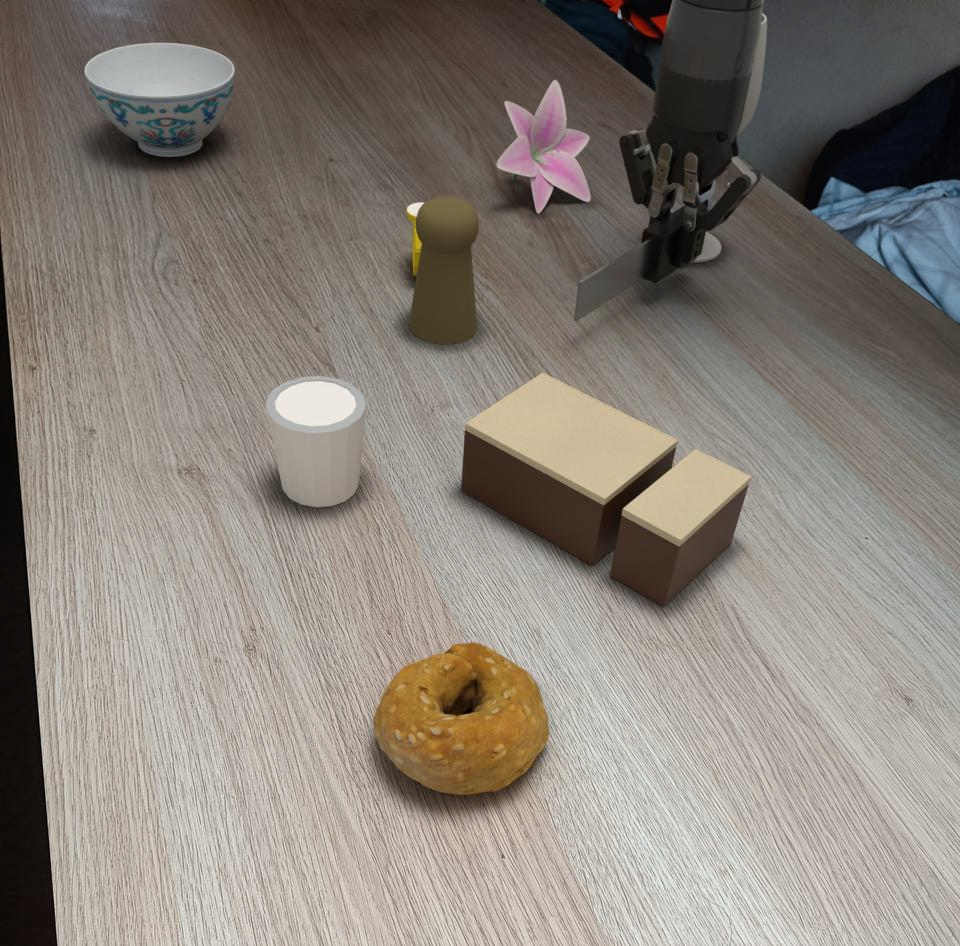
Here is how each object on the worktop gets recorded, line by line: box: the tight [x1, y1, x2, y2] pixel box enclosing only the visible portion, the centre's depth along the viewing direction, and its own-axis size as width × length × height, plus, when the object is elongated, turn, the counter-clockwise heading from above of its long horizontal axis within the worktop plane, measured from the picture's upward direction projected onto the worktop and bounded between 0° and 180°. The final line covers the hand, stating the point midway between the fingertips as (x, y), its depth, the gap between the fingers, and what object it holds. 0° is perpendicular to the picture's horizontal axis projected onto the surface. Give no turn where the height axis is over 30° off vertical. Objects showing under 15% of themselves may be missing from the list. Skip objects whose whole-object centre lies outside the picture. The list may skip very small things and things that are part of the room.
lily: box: [495, 79, 592, 214], centre depth 114 cm, size 12×12×10 cm
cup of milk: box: [265, 375, 367, 508], centre depth 78 cm, size 7×7×7 cm
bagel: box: [372, 641, 550, 796], centre depth 64 cm, size 10×11×5 cm
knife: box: [573, 204, 707, 322], centre depth 98 cm, size 19×2×4 cm, turn 141°
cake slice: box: [609, 448, 752, 607], centre depth 75 cm, size 9×4×6 cm, turn 141°
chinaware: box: [84, 42, 236, 158], centre depth 116 cm, size 15×15×8 cm
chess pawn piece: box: [408, 196, 480, 345], centre depth 93 cm, size 6×6×11 cm
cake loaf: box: [460, 372, 679, 566], centre depth 79 cm, size 9×12×6 cm
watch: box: [406, 201, 425, 278], centre depth 101 cm, size 6×3×6 cm, turn 4°
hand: (669, 258), depth 102 cm, fingers closed on knife, 2 cm apart
